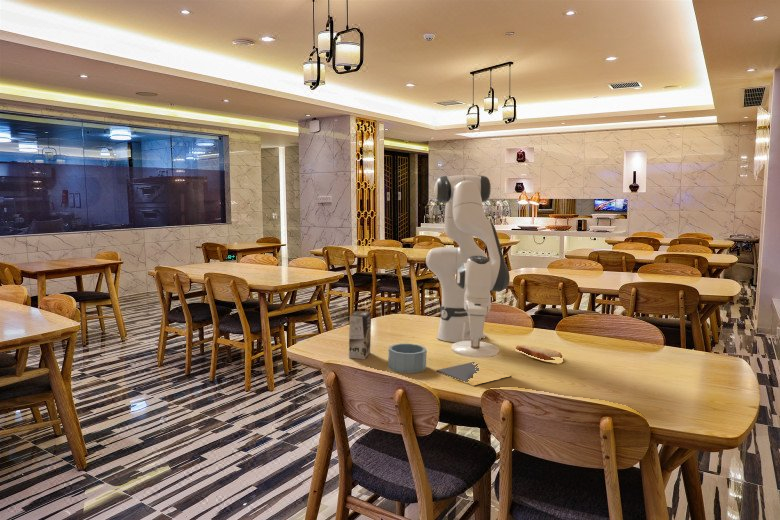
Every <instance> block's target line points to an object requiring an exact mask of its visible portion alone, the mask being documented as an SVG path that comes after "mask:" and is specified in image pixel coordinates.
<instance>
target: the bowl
mask: <svg viewBox="0 0 780 520" xmlns="http://www.w3.org/2000/svg"><path fill="white" fill-rule="evenodd" d="M387 356H388V357H387V358H388V361H387V364H388V369H389V370H390V371H392V372H395V373H399V374H418V373H422V372H424V371H425V370H426V367H427V348H426V347H425V346H423V345H420V344H417V343H416V344H415V343H397V344H392V345H389V346H388V355H387Z"/></svg>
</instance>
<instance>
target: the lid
mask: <svg viewBox="0 0 780 520" xmlns="http://www.w3.org/2000/svg"><path fill="white" fill-rule="evenodd" d="M451 352H453V353H455V354H456V355H459V356H463V357H469V358H475V359H476V358H478V359H479V358H480V359H483V358H491V357H495V356H498V355H499V353H500V349H499V346H497V345H495V344H493V343H489V342H485V341H481V339H480V338H479V340H478V346H473V338H471V341H461V342H453V343H452V344H451Z"/></svg>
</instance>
